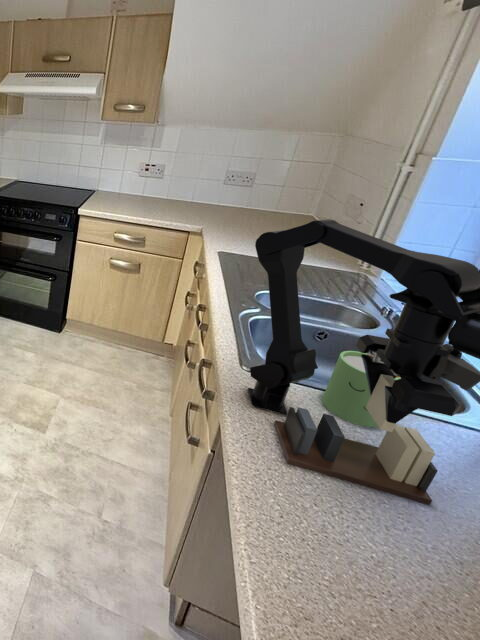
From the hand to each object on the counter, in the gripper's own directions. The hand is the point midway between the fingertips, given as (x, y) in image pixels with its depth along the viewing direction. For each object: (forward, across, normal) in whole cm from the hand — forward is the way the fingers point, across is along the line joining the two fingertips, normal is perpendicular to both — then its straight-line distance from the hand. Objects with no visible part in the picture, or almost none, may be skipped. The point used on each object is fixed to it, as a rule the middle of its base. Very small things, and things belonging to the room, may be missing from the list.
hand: (382, 410), depth 73 cm
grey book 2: (+11, 0, +5) cm, 13 cm away
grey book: (+11, 0, +9) cm, 15 cm away
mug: (+13, +18, -6) cm, 23 cm away
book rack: (+13, 0, +2) cm, 13 cm away
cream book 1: (+2, 0, 0) cm, 2 cm away
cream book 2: (+11, 0, -4) cm, 12 cm away
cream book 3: (+11, 0, -6) cm, 13 cm away
